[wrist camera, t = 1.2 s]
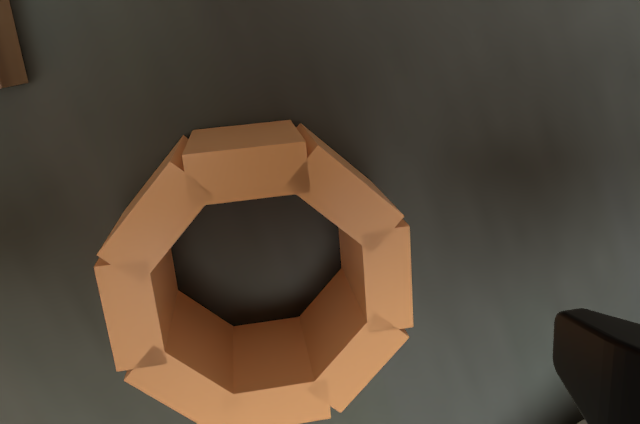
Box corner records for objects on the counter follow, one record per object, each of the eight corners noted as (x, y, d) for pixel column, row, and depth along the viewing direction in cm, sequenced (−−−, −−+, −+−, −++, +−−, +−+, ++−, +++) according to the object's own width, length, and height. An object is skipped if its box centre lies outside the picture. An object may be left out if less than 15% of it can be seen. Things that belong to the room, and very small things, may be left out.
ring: (370, 111, 14) (405, 130, 11) (382, 337, 16) (416, 404, 13) (106, 139, 13) (71, 166, 10) (152, 372, 15) (134, 451, 12)
